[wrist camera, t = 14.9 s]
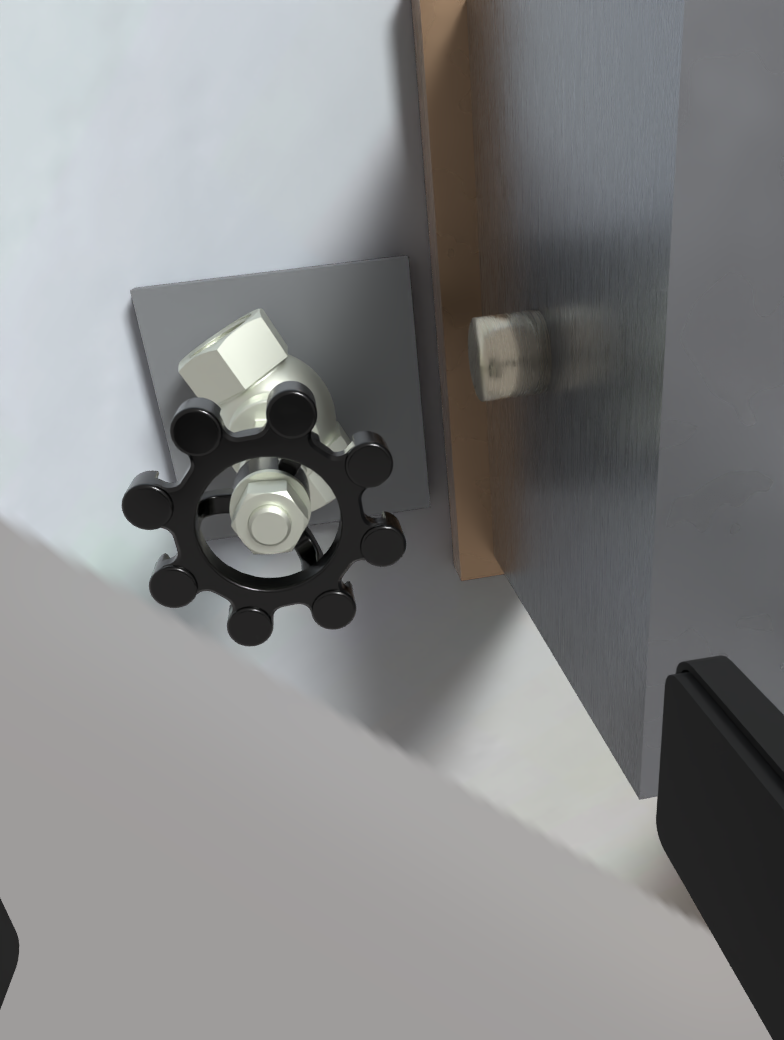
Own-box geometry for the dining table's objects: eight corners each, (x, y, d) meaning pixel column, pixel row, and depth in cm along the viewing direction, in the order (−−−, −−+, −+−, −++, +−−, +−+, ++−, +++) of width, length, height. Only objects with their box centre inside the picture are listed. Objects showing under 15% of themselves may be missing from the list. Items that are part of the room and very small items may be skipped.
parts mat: (404, 255, 27) (408, 257, 26) (426, 498, 31) (430, 507, 30) (135, 287, 26) (129, 290, 25) (195, 532, 30) (192, 542, 29)
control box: (613, -40, 24) (1082, -396, 10) (600, 542, 33) (834, 789, 19) (400, -21, 23) (574, -372, 9) (447, 566, 32) (571, 841, 18)
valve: (255, 510, 29) (237, 692, 18) (150, 375, 26) (55, 493, 15) (392, 424, 28) (459, 559, 17) (299, 276, 26) (308, 327, 15)
